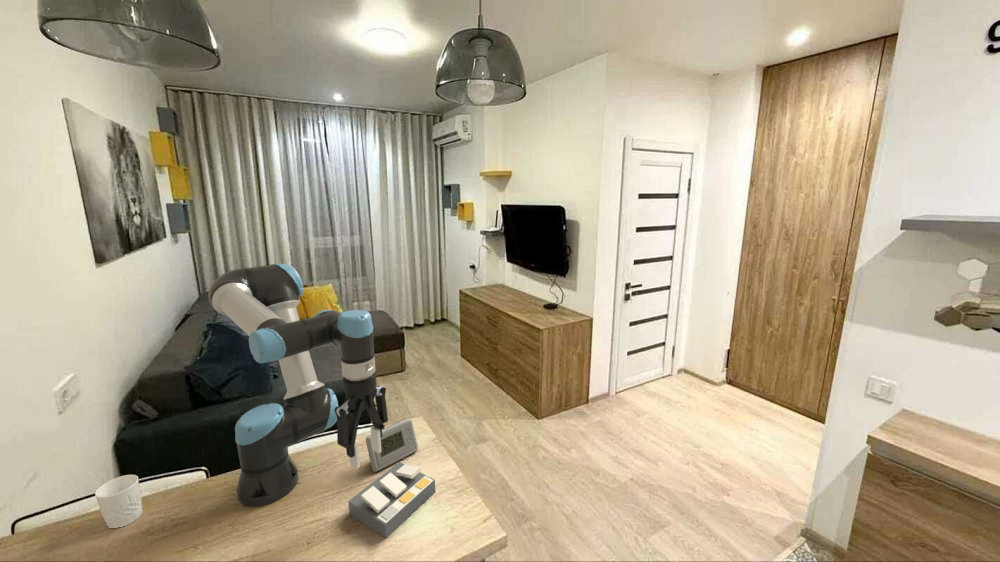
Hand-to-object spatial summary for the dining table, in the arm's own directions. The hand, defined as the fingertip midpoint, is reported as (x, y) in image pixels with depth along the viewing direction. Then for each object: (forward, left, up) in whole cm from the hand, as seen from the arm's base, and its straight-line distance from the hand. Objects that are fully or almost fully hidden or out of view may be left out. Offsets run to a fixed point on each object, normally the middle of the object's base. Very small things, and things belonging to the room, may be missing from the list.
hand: (366, 458), depth 98 cm
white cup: (-53, -35, -17) cm, 66 cm away
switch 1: (+2, 0, -12) cm, 12 cm away
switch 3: (+2, +12, -12) cm, 17 cm away
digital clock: (-12, +19, -17) cm, 28 cm away
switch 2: (+2, +6, -12) cm, 13 cm away
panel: (+2, +6, -17) cm, 18 cm away
